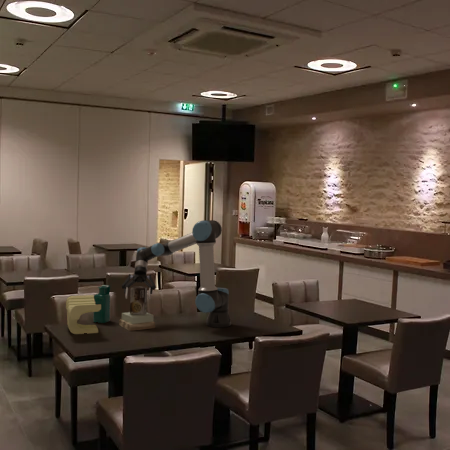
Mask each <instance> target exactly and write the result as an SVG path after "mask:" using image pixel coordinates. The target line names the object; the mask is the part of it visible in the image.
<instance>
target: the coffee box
mask: <svg viewBox="0 0 450 450" xmlns="http://www.w3.org/2000/svg"><path fill="white" fill-rule="evenodd" d="M129 296H130V303H129V312H130V314H135V315H145V314H146V313H148V312H147V311H148V310H147V308H148V307H147V306H148V303H147V302H148V286H138V285H137V286H136V285H134V286H133V285H132V286H130V295H129Z"/></svg>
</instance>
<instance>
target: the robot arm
mask: <svg viewBox="0 0 450 450" xmlns="http://www.w3.org/2000/svg"><path fill="white" fill-rule="evenodd" d="M222 232H223V228H222V225H221V223H220V222H219V221H217V220H214V219H209V220H199V221H198V222H196V223H195V224H194V225H193V227H192V232H190V233H187V234H185V235H183V236H181V237H179V238H178V237H177V238H175V239H173V240H171V241H168V242H166V243H160V242H157V243H154V244H152V245H150V246H148V247H144V246H141V247H138V248H137V251H136V254H135V264H134V272H133V275H132V274H130V273H129V274H128V277H127V278H126V279H125V280H124V282H123V283H122V284H121V289H123V293H124V295H125V299H126V300H127V299H128V292H129V288H131V287H132V286H133V284H136V283H143V284H145V285H146V287H147V288H148V295H147V299H148V300H151V295H152V294H153V290H156V289H157V287H156V284H155V282H154V280H153V277H152V274H148V275H147V273H148V263H149V261H151V260H153V259H155V258H159V257H166V256H167V257H168V256H171V255H173V254H174V253H176V252H179V251H182V250H184V249H187V248H188V247H189V248H190V247H192V246H194V245H197V246H198V252H199V253H198V254H199V257H198V259H199V277H200V280H199V281H200V287H199V288H198V290H197V291H198V292H197V293H198V294H197V295H196V297H195V300H194V301H195V306H196V309H198V310H199V312H201V313H206V314H207V313H208V315H207V318H206V321H205V323H206V324H205V325H206V326H207V327H210V328H211V327H212V328H228V327H230V326H231V325H232V320H231V318H230V314H229V302H230V301H229V300H230V298H229V295H230V294H229V293H230V292H229V288H226V287H217V286H216V282H215V281H216V280H215V278H216V277H215V273H216V272H215V254H214V246H215V244H216V241H217V240H216V239H218V238H219V237H221V235H222Z"/></svg>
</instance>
